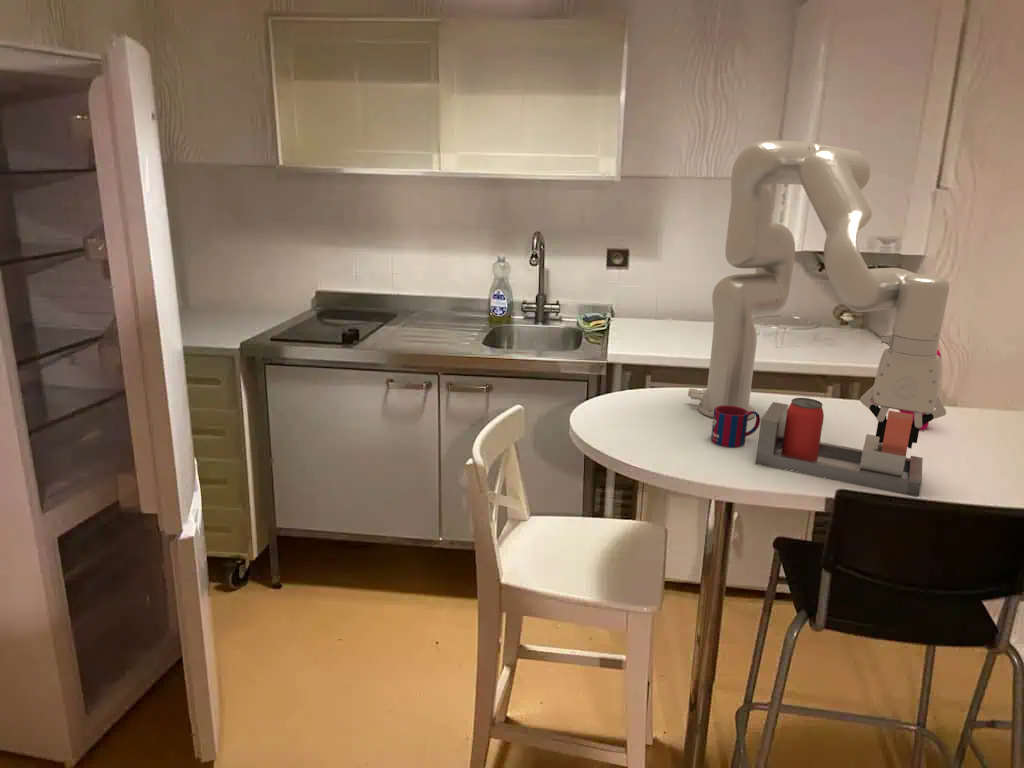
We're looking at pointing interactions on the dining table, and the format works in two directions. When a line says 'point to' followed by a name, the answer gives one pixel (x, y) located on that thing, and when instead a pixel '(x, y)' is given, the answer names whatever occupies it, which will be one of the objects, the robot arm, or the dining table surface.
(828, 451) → the press frame
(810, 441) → the beer can
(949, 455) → the dining table surface
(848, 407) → the dining table surface
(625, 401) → the dining table surface
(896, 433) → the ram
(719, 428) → the mug
